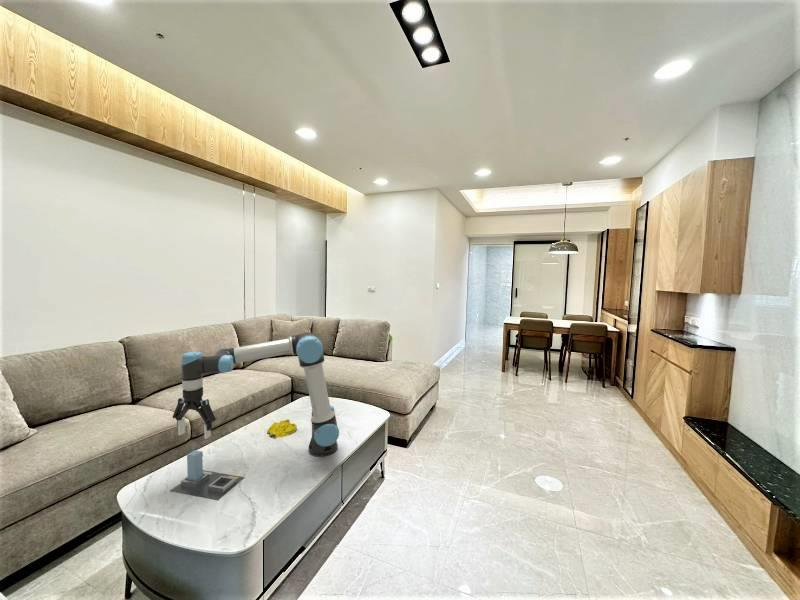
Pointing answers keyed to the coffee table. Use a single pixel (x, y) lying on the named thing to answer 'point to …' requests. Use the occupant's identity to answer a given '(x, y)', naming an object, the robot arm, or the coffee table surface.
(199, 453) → the plug
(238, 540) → the coffee table surface
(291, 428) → the door knocker
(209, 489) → the panel
